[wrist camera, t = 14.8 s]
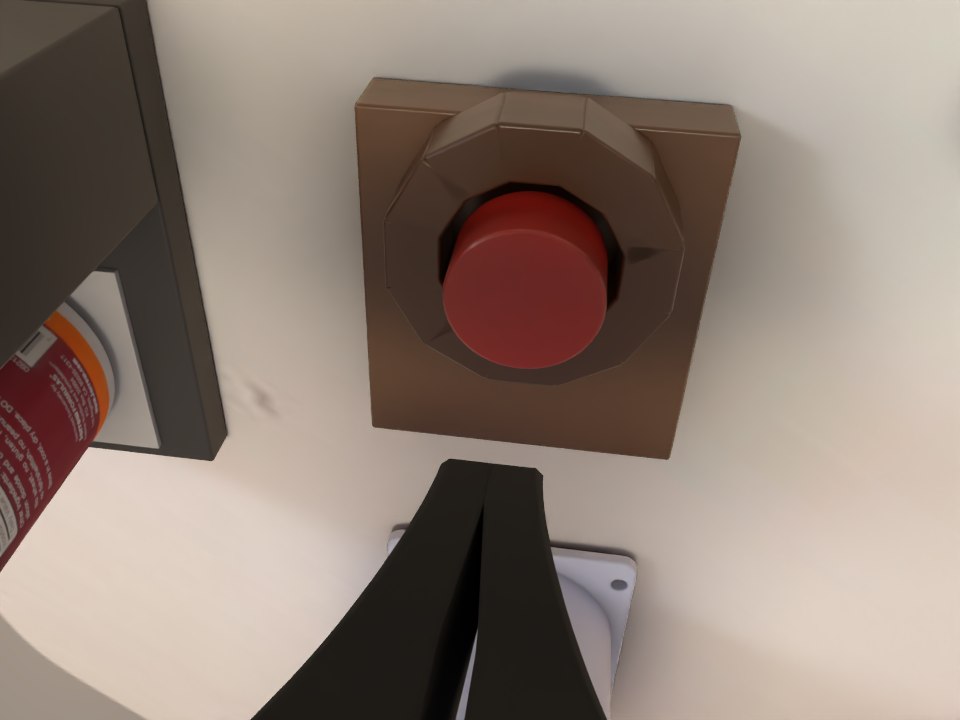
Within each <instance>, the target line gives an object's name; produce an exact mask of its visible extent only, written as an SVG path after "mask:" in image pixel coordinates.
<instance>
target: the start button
mask: <svg viewBox="0 0 960 720" xmlns="http://www.w3.org/2000/svg"><path fill="white" fill-rule="evenodd" d="M607 276H608V257H607V249H606V245H605V241H604V239H603V236H602V234H601V232H600V230H599V229H598V227H597V225H596V224H595V223H594V222H593V220H592V219H591V218H590V217H589V216H588V215H587V214H586V213H585V212H584V211H583V210H582V209H580V208H579V207H578V206H576V205H575V204H573V203H571V202H570V201H568V200H566V199H564V198H561V197H559V196H556V195H553V194H549V193H545V192H538V191H519V192H513V193H508V194H504V195H501V196H498V197H496V198H494V199H492V200H490V201H488V202H486V203H484V204H483V205H481V206H480V207H479V208H477V209H476V210H475V211H474V212H473V213H472V214H471V215H470V216H469V218H468V219H467V220H466V221H465V223H464V224H463V226H462V228H461V230H460V232H459V234H458V237H457V240H456V243H455V246H454V250H453V253H452V256H451V259H450V263H449V266H448V269H447V272H446V276H445V279H444V283H443V292H442V297H443V306H444V310H445V314H446V316H447V319H448V321H449V323H450V325H451V327H452V329H453V331H454V332H455V333H456V335H457V336H458V337H459V339H460V340H461V341H462V342H463V343H464V344H465V345H466V346H467V347H469V348H470V349H471V350H472V351H474V352H475V353H477V354H478V355H480V356H481V357H483V358H485V359H487V360H489V361H491V362H494V363H497V364H499V365H503V366H507V367H512V368H519V369H538V368H545V367H550V366H553V365H557V364H560V363H562V362H565V361H567V360H569V359H571V358H572V357H574V356H576V355H577V354H579V353H580V352H581V351H583V350H584V349H585V348H586V347H587V346H588V345H589V344H590V343H591V342H592V341H593V339H594V338H595V337H596V335H597V334H598V332H599V330H600V329H601V326H602V324H603V321H604V319H605V314H606V309H607Z"/></svg>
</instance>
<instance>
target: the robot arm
mask: <svg viewBox="0 0 960 720" xmlns="http://www.w3.org/2000/svg"><path fill="white" fill-rule="evenodd" d="M387 551H388V558H387V559H386V561H385V562H384V564H383V565H382V567H381V568H380V569H379V571H378V572H377V574H376V575H375V577H374V578H373V579H372V581H371V582H370V583H369V585H368V586H367V587H366V588H365V590H364V591H363V592H362V594H361V595H360V596H359V598H358V599H357V600H356V602H355V603H354V604H353V605H352V607H351V608H350V609H349V611H348V612H347V613H346V615H345V616H344V617H343V619H342V620H341V621H340V622H339V624H338V625H337V626H336V627H335V628H334V630H333V631H332V632H331V633H330V634H329V636H328V637H327V638H326V639H325V640H324V642H323V643H322V644H321V645H320V646H319V647H318V649H317V650H316V651H315V652H314V653H313V654H312V655H311V657H310V658H309V659H308V660H307V661H306V662H305V663H304V664H303V665H302V667H301V668H300V669H299V670H298V671H297V672H296V673H295V674H294V675H293V677H292V678H291V679H290V680H289V681H288V682H287V683H286V684H285V685H284V686H283V687H282V688H281V689H280V690H279V691H278V692H277V693H276V694H275V695H274V696H273V697H272V698H271V699H270V700H269V701H268V702H267V703H266V704H265V705H264V706H263V707H262V708H261V710H260V711H259V712H258V713H257V714H256V715H255V716H254V717H253V718H252V719H251V720H610V698H611V693H612V689H613V684H614V679H615V675H616V670H617V666H618V661H619V656H620V652H621V647H622V642H623V638H624V633H625V628H626V624H627V619H628V615H629V610H630V605H631V601H632V596H633V591H634V587H635V582H636V577H637V566H636V563H635V561H634V560H632V559H631V558H629V557H626V556H622V555H613V554H605V553H597V552H588V551H580V550H572V549H563V548H555V547H551V546H550V541H549V535H548V530H547V525H546V518H545V511H544V501H543V475H542V474H541V473H540V472H539V471H538V470H537V469H536V468H528V467H519V466H510V465H501V464H492V463H483V462H475V461H466V460H457V459H448V460H447V461H445V462H443V463H442V464H441V466H440V468H439V470H438V473H437V475H436V477H435V479H434V481H433V483H432V485H431V487H430V489H429V491H428V493H427V495H426V497H425V499H424V500H423V502H422V504H421V506H420V507H419V509H418V511H417V512H416V514H415V516H414V517H413V519H412V521H411V522H410V524H409V526H408V527H407V529H406V530H405V529H403V530H396V531H393V532H392V533H391V534H390V537H389V540H388V544H387ZM617 580H622V581H617Z"/></svg>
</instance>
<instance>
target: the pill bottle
mask: <svg viewBox="0 0 960 720" xmlns="http://www.w3.org/2000/svg"><path fill="white" fill-rule="evenodd" d="M114 394H115V383H114V376H113V371H112V368H111V364H110V361H109V359H108V356H107V354H106V352H105V350H104V348H103V346H102V344H101V343H100V341H99V339H98V338H97V336H96V335H95V334H94V332H93V331H92V329H91V328H90V327H89V326H88V324H87V323H86V322H85V321H84V320H83V319H82V318H81V317H80V316H79V315H78V314H77V313H76V312H75V311H74V310H73V309H72V308H71V307H70V306H69V305H68V304H66V303H65V302H64V303H63V304H62V305H61V306H60V307H59V308H58V309H57V310H56V311H55V312H54V313H53V314H52V315H51V316H50V317H49V319H48V320H47V321H46V322H45V323H44V324H43V325H42V326H41V327H40V328H39V329H38V330H37V331H36V332H35V333H34V334H33V335H32V337H31V338H30V339H29V340H28V341H27V342H26V343H25V344H24V345H23V346H22V347H21V348H20V349H19V350H18V351H17V352H16V354H15V355H14V356H13V357H12V358H11V359H10V360H9V361H8V362H7V363H6V364H5V365H4V366H3V367H2V368H1V369H0V572H1V570H2V569H3V568H4V566H5V565H6V563H7V562H8V560H9V559H10V558H11V556H12V555H13V553H14V552H15V550H16V549H17V548H18V546H19V545H20V543H21V542H22V540H23V539H24V537H25V536H26V535H27V533H28V532H29V530H30V529H31V527H32V526H33V525H34V523H35V522H36V520H37V519H38V518H39V516H40V515H41V513H42V512H43V511H44V509H45V508H46V506H47V505H48V503H49V502H50V501H51V499H52V498H53V496H54V495H55V494H56V492H57V491H58V489H59V488H60V487H61V485H62V484H63V482H64V481H65V479H66V478H67V476H68V475H69V474H70V472H71V471H72V469H73V468H74V467H75V465H76V464H77V463H78V461H79V460H80V458H81V457H82V455H83V454H84V453H85V451H86V450H87V448H88V447H89V446H90V444H91V443H92V442H93V440H94V439H95V437H96V436H97V435H98V433H99V431H100V430H101V428H102V426H103V424H104V423H105V421H106V419H107V417H108V415H109V413H110V411H111V408H112V404H113V400H114Z"/></svg>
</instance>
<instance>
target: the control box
mask: <svg viewBox="0 0 960 720" xmlns="http://www.w3.org/2000/svg"><path fill="white" fill-rule="evenodd" d="M355 123H356V142H357V160H358V178H359V196H360V215H361V233H362V251H363V270H364V288H365V306H366V324H367V343H368V361H369V379H370V398H371V416H372V426H373V427H375V428H384V429H393V430H402V431H411V432H420V433H429V434H438V435H447V436H456V437H466V438H475V439H484V440H493V441H502V442H511V443H520V444H529V445H538V446H547V447H556V448H565V449H574V450H583V451H592V452H601V453H611V454H620V455H629V456H638V457H647V458H656V459H665V460H668V459H669V458H670V455H671V450H672V446H673V441H674V437H675V432H676V428H677V423H678V419H679V414H680V410H681V405H682V401H683V396H684V392H685V387H686V383H687V378H688V374H689V369H690V365H691V360H692V356H693V351H694V347H695V342H696V338H697V333H698V329H699V324H700V320H701V316H702V311H703V307H704V302H705V298H706V293H707V289H708V284H709V280H710V275H711V271H712V266H713V262H714V257H715V253H716V248H717V244H718V239H719V235H720V230H721V226H722V221H723V217H724V212H725V208H726V203H727V199H728V194H729V190H730V185H731V181H732V176H733V172H734V167H735V163H736V158H737V154H738V149H739V145H740V140H741V134H740V130H739V127H738V123H737V120H736V116H735V113H734V110H733V107H732V106H729V105H716V104H703V103H690V102H677V101H664V100H651V99H638V98H625V97H612V96H599V95H586V94H573V93H560V92H547V91H534V90H521V89H508V88H495V87H482V86H469V85H456V84H443V83H430V82H417V81H404V80H391V79H378V78H374V79H372V80H371V81H370V83H369V84H368V86H367V87H366V89H365V90H364V92H363V93H362V95H361V96H360V98H359V99H358V101H357V102H356V104H355ZM519 191H538V192H545V193H549V194H553V195H556V196H559V197H561V198H564V199H566V200H568V201H570V202H571V203H573V204H575V205H576V206H578V207H579V208H580V209H582V210H583V211H584V212H585V213H586V214H587V215H588V216H589V217H590V218H591V219H592V220H593V222H594V223H595V224H596V225H597V227H598V229H599V230H600V232H601V234H602V236H603V239H604V241H605V245H606V249H607V257H608V276H607V309H606V314H605V319H604V321H603V324H602V326H601V329H600V330H599V332H598V334H597V335H596V337H595V338H594V339H593V341H592V342H591V343H590V344H589V345H588V346H587V347H586V348H585V349H584V350H583V351H581V352H580V353H579V354H577V355H576V356H574V357H572V358H571V359H569V360H567V361H565V362H562V363H560V364H557V365H553V366H550V367H545V368H538V369H519V368H512V367H507V366H503V365H499V364H497V363H494V362H491V361H489V360H487V359H485V358H483V357H481V356H480V355H478V354H477V353H475V352H474V351H472V350H471V349H470V348H469V347H467V346H466V345H465V344H464V343H463V342H462V341H461V340H460V339H459V337H458V336H457V335H456V333H455V332H454V331H453V329H452V327H451V325H450V323H449V321H448V319H447V316H446V314H445V310H444V306H443V297H442V292H443V283H444V279H445V276H446V272H447V269H448V266H449V263H450V259H451V256H452V253H453V250H454V246H455V243H456V240H457V237H458V234H459V232H460V230H461V228H462V226H463V224H464V223H465V221H466V220H467V219H468V218H469V216H470V215H471V214H472V213H473V212H474V211H475V210H476V209H477V208H479V207H480V206H481V205H483V204H484V203H486V202H488V201H490V200H492V199H494V198H496V197H498V196H501V195H504V194H508V193H513V192H519Z"/></svg>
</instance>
